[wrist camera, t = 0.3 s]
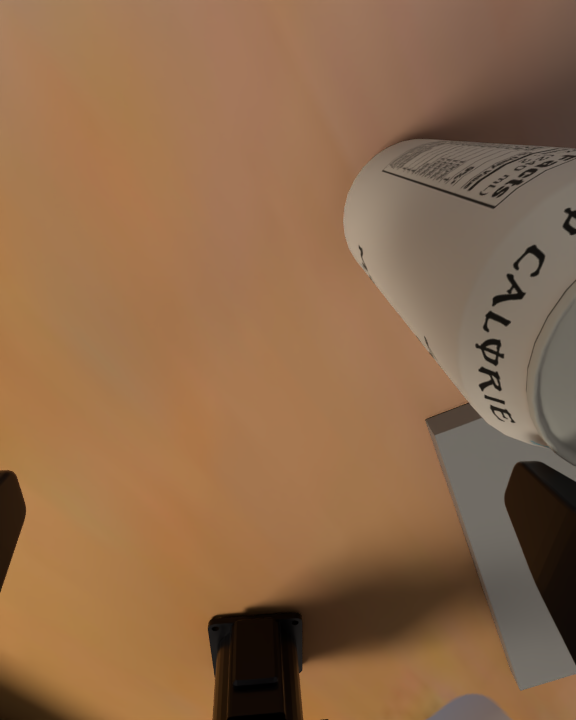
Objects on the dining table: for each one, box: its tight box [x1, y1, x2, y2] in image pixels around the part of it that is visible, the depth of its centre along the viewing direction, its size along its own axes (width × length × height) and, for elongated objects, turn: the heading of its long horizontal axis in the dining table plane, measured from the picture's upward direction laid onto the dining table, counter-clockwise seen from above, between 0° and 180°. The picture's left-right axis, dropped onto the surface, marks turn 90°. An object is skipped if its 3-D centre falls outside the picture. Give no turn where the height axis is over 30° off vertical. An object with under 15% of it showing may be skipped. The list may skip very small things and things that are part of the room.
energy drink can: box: [343, 139, 576, 466], centre depth 14 cm, size 6×6×15 cm
